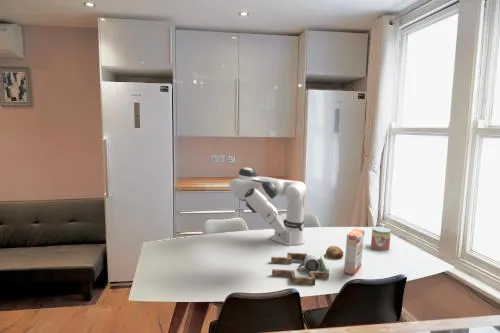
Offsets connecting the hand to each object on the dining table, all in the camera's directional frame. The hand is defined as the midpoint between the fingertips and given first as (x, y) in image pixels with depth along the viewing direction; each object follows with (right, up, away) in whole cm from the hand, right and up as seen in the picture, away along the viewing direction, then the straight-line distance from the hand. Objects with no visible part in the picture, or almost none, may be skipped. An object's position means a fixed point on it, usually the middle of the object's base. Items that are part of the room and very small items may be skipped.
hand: (287, 233), depth 185 cm
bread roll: (+30, -19, +24) cm, 43 cm away
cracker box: (+35, -21, +6) cm, 42 cm away
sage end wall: (+19, -21, +2) cm, 28 cm away
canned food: (+63, -17, +42) cm, 78 cm away
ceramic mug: (+11, -21, +3) cm, 24 cm away
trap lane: (+7, -20, +3) cm, 21 cm away
